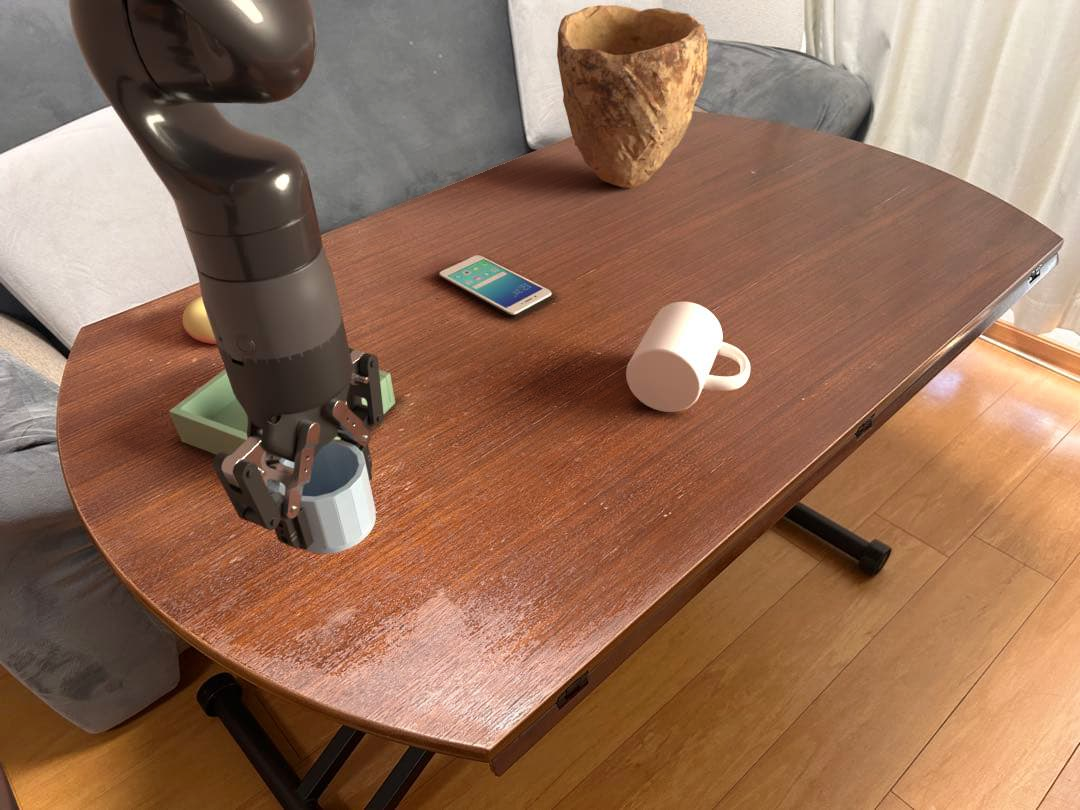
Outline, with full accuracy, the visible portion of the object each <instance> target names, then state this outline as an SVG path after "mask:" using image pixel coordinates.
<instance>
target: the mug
mask: <svg viewBox="0 0 1080 810" xmlns="http://www.w3.org/2000/svg"><path fill="white" fill-rule="evenodd" d="M722 329H723V328H722V327H721V323H720V322H719V320H718V318H717V317H716V315H714V314H713V312H711V311H710V310H709V309H707V308H706V307H704V306H702V305H700V304H698V303H695V302H691V301H675V302H671V303H669V304H667V305H664V306H663V307H662V308H660V310H658V312H657V313H656V314H655V316H654V318H653V320H652V321H651V323H650V325H649V326H648V328H647V330H646V332H645V334H644V335H643V337H642V338H641V340H640V342H639V344H638V346H637V347H636V350H635V351H634V353H633V354H632V357H631V358H630V360H629V362H628V364H627V366H626V371H625V377H626V382H627V385H628V387H629V389H630V391H631V393H632V395H634V397H635V398H636V399H637V400H638V401H639V402H641V403H643V404H644V406H647V407H648V408H651V409H653V410H656V411H659V412H664V413H678V412H681V411H684V410H687V409H689V408H691V407H692V406H693V405H694V404H695V403H697V401H698V400H699V398H700V396H701V393H702V391H703V390H708V391H718V392H728V391H729V392H730V391H734V390H738V389H739V388H740V389H741V387H743V386H744V385H745V384H746V383H747V382H748V380H749V377H750V374H751V363H750V361H749V359H748V357H747V356H746V355H745V353H744V352H743V351H742V350H740V349H739V348H738V347H736V346H735V345H732V344H730V343H727V342H725V341H723V330H722ZM717 356H722V357H726V358H728V359H731V360H733V361H735V362H736V363H738V365H739V367H740V370H739V372H738V373H737V374H735V375H729V376H721V375H720V376H719V375H712V374H710V372H711V371H712V370H711V369H712V367H713V365H714V363H715V360H716V358H717Z"/></svg>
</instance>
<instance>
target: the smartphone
mask: <svg viewBox="0 0 1080 810" xmlns="http://www.w3.org/2000/svg"><path fill="white" fill-rule="evenodd" d="M439 279H440V280H441V281H442V282H444V283H446V284H448V285H449V286H452V287H454V288H456V289H457V290H459V291H461V292H463V293H464V294H466V295H468V296H470V297H472V298H474V299H475V300H477V301H479V302H481V303H483V304H484V305H486V306H488V307H489V308H491V309H493V310H495V311H497V312H499V313H500V314H503V316H506V317H508V318H510V319H516V318H517V317H519V316H521V315H523V314H524V313H526V312H529V311H531V310H532V309H535V308H536V307H538V306H540V305H541V304H543V303H546V302H547V301H549V300H550V299H552V290H550V289H548V288H546V287H545V286H543V285H540V284H538V283H536V282H534V281H532V280H530V279H528V278H526V277H524V276H523V275H520V274H518V273H516V272H515V271H513V270H510V269H509V268H506V267H504V266H502V265H500V264H499V263H497V262H494V261H492V260H491V259H488V258H486V257H484V256H482V255H479V254H478V255H473V256H471V257H469V258H467V259H464V260H462V261H460V262H457V263H456V264H453V265H452V266H450V267H447V268H445V269H443V270H441V271H440V272H439Z"/></svg>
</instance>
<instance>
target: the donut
mask: <svg viewBox="0 0 1080 810" xmlns="http://www.w3.org/2000/svg"><path fill="white" fill-rule="evenodd" d="M182 325H183V328H184V330H185V331H186V333H187V334H188V335H189V336H190V337H191V338H192V339H194V340H197V341H199V342H202V343H206V344H209V345H210V344H212V345H217V343H216V340H215V337H214V334H213V331H212V328H211V325H210V322H209V319H208V316H207V313H206V310H205V307H204V303H203V300H202V295H200V296H198V297H196V298H194V299H193V300H192V301H191V302H190V303H188V304H187V306H186V307H185V309H184V311H183V313H182Z"/></svg>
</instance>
